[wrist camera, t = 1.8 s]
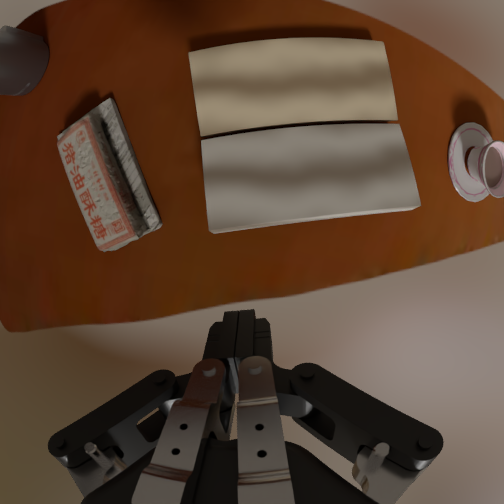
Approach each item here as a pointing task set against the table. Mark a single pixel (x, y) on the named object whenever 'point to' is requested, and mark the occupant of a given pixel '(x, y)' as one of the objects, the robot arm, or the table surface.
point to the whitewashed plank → (306, 175)
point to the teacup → (476, 163)
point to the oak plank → (291, 83)
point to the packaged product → (107, 178)
